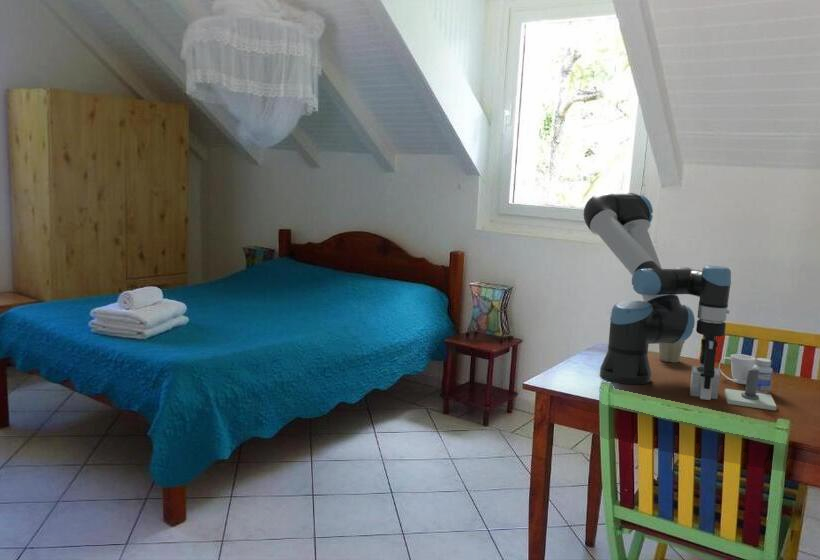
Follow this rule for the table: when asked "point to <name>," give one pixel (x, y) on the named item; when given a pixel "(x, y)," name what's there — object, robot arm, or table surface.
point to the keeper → (750, 394)
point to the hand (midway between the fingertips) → (703, 392)
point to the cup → (739, 367)
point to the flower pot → (670, 351)
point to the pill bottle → (763, 375)
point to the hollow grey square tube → (697, 380)
